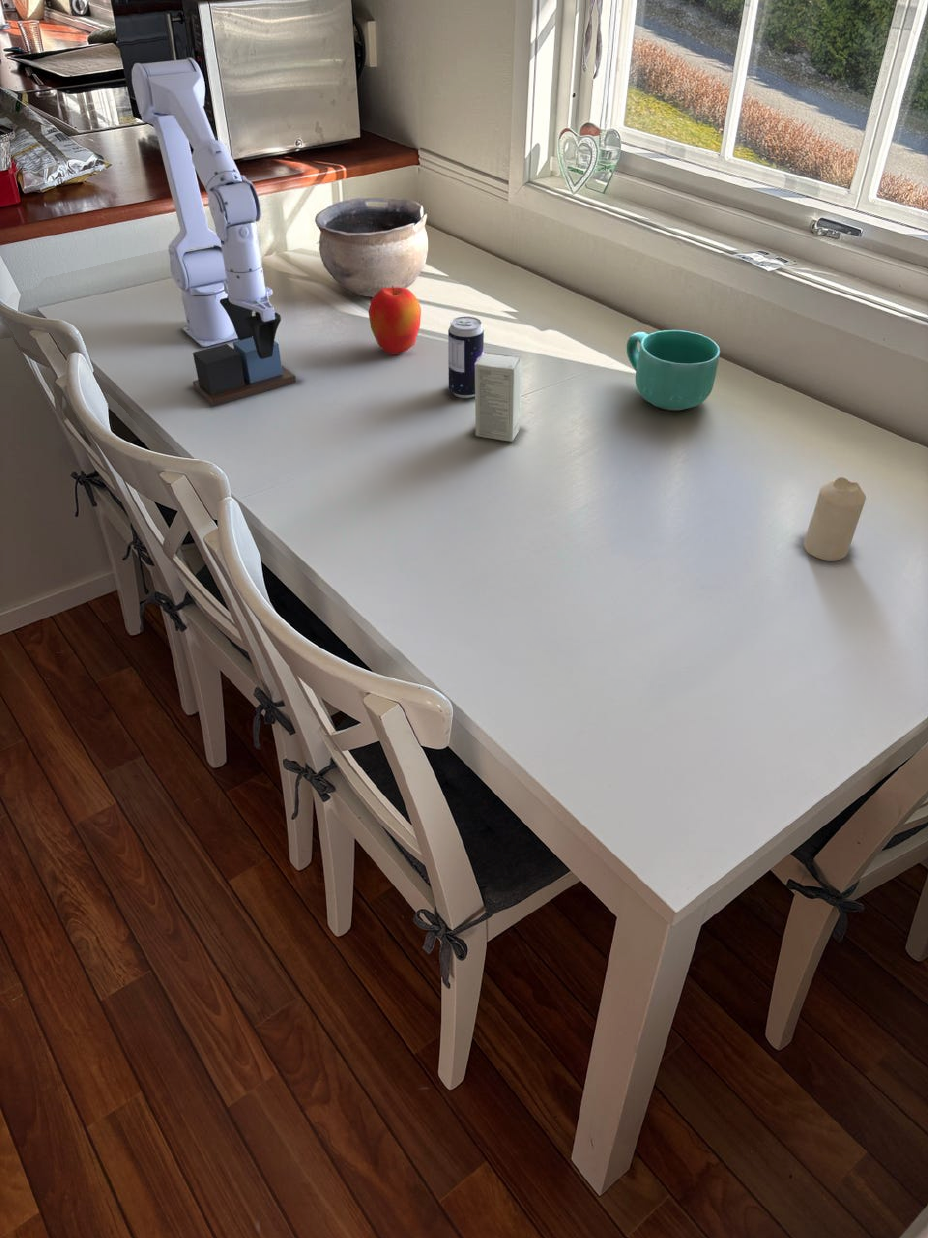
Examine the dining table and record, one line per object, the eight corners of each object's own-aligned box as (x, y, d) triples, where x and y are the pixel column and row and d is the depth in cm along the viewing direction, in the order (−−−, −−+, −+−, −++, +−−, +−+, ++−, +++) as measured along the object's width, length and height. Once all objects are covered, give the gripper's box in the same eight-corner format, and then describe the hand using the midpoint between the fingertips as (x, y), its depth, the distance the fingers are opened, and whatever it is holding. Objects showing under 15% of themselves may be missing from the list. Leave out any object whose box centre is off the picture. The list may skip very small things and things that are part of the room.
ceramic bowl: (426, 311, 179) (424, 231, 169) (315, 310, 179) (306, 231, 170) (431, 270, 196) (429, 195, 186) (329, 269, 196) (322, 194, 186)
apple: (391, 367, 161) (388, 299, 153) (360, 350, 166) (355, 283, 158) (432, 351, 166) (431, 285, 158) (401, 336, 171) (398, 270, 163)
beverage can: (479, 401, 151) (480, 331, 144) (445, 398, 152) (444, 328, 144) (485, 385, 156) (487, 316, 148) (452, 382, 156) (452, 313, 149)
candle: (797, 537, 123) (816, 472, 116) (837, 535, 123) (858, 471, 117) (812, 562, 119) (833, 497, 112) (854, 560, 119) (877, 495, 112)
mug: (726, 406, 150) (737, 351, 144) (669, 426, 145) (678, 370, 139) (657, 368, 161) (664, 315, 155) (601, 386, 156) (607, 332, 149)
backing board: (193, 387, 155) (192, 381, 154) (274, 365, 161) (273, 358, 161) (213, 406, 150) (212, 399, 149) (295, 382, 156) (295, 375, 156)
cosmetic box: (520, 429, 144) (523, 356, 136) (512, 443, 141) (515, 369, 133) (482, 423, 146) (483, 350, 138) (473, 436, 143) (474, 362, 135)
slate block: (250, 384, 153) (245, 352, 150) (237, 372, 156) (232, 341, 153) (282, 374, 156) (278, 343, 152) (269, 363, 159) (265, 333, 155)
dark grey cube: (198, 383, 153) (192, 352, 150) (232, 374, 156) (226, 343, 152) (211, 395, 150) (205, 363, 147) (245, 385, 153) (239, 354, 149)
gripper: (287, 274, 142) (297, 357, 150) (246, 247, 150) (258, 327, 159) (245, 284, 138) (258, 369, 147) (206, 256, 147) (220, 337, 156)
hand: (255, 348), depth 153 cm, fingers open, 7 cm apart
